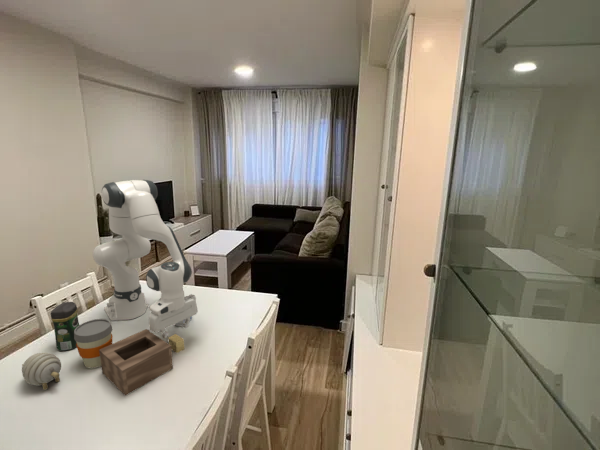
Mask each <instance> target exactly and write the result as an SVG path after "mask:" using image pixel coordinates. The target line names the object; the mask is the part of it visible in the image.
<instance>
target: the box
mask: <svg viewBox="0 0 600 450" xmlns="http://www.w3.org/2000/svg"><path fill="white" fill-rule="evenodd" d="M172 351H173V350H171V345H169V343H168V342H166V341H165V340H164V339H162V338H160V337H159V336H157V335H156V334H155V333H154V332H153V331H151V330H150V329H147V328H146V329H143V330H141V331H138V332H136V333H134V334H132V335H130V336H128V337H125V338H122V339H120V340H118V341H116V342H114V343H113V342H112V344H111V345H109V346H107V347H104V348H102V349H100V350H99V353H100V360H101V366H100V368H101V371H102V374H103V375H104V376H105V377H106V379H108V380H109V381H110V382H111V383H112V385H114V386H115V387H116V388H117V389H118V390H119V391H120V392H121V393H122V394H123V396H128V395H129V394H131V393H132V392H134V391H136V390H139V388H141V387H143V386H145V385H147V384H148V383H150V382H152V381H153V380H155V379H157V378H158V377H161V376H162V375H164V374H165V373H167V372H169V371H170V370H172V369H174V365H173V352H172Z"/></svg>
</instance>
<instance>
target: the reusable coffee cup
mask: <svg viewBox="0 0 600 450" xmlns="http://www.w3.org/2000/svg"><path fill="white" fill-rule="evenodd" d="M112 332H113V326H112V322H111V320H110V319H107V318H97V319H95V318H94V319H92V320H88V321H85V322H82V323H80V324H79V326H78V327H76V329H75V330H74V339H75V341H76V342H77V344H76V349H77V352H78V354H79V357H81V359H82V362H83V365H84V367H85V368H88V369H96V368H101V360H100V353H99V350H100V349H102V348H104V347H107V346H109V345H111V344H113V334H112Z"/></svg>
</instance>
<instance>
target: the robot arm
mask: <svg viewBox="0 0 600 450" xmlns="http://www.w3.org/2000/svg"><path fill="white" fill-rule="evenodd" d="M101 198H102V200H103V203H104V204H105V205H106V206H107V207H108V223H109V224H108V225H109V230H110V231H111V232H112V233H114V234H116V235H120V236H121V239H117V240H112V241H111V240H110V241H107V242H104V243H101V244H99V245H96V246H95V247H94V249H93V251H92V258H93V260H94V262H95V263H96V264H97V265H98V266H100V267H104V268H105V269H106V270H108V271H109V273H110V275H111V276H112V279H113V284H114V287H113V295H112V296H110V297H109V299H108V302H107V303H106V306H105V307H104V311H105V313H106V315H107V317H108V318H109V321H127V320H133V319H136V318H139V317H141V316H143V315H144V314H145V313H146V311H147V309H148V308H149V311H150V313H149V316H148V327H149V331H150V332H152V333H154V334H155V333H159V332H161V334H162V338H163V339H166V338H168V337H169V332H167V331H166V329H168V328H170V327H171V326H175V324H176V323H178V322H180V321H182V320H185V319H186V320H185V323H183V326H182V328H185V329H186V328H188V327H189V322H190V321H191V320H190V317H191V316H192V317H194V316H196V315H197V313H198V304H197V297H196V295H195V294H192V293H191V294H189V295H185V290H184V284H186V283H188V281H189V280H190V278H191V276H192V275H193V271H192V267H191V265H190V263H189V262H188V260H187V259H186V257H185V254H184V253H183V250H182V248H181V246H180V243H179V241H178V239H177V237H176V235H175V232H174V231H173V229H172V227H170V226H169V225H167V224H165V222H164V221H163V219H162V218H161V215H160V211H159V207H158V204H157V203H156V200H157V198H158V187H157V185H156V184H155V183H154V181H153V180H150V179H142V180H140V179H131V180H130V179H128V180H122V181H116V182H114V181H112V182H108V183H105V184H104V185H103V186H102V188H101ZM150 240H153V241H154V240H155V241H158V242H162V243H163V244H165V246H166V248H167V250H168V252H169V255H170V257H171V259H172V261H167V262H163V263H162V264H160V265H158V266H155V267H151V268H149V270H147V273H146V275H145V282H146V285H147V287H148V289H151V290H153V291H155V292H160V298H159V299H158V300H157V301H155V302H154V303H153V304H151V305H149V304H148V303H147V302H146V298H145V297H146V296H145V293H144V292H142V286H141V284H140V274H139V271H138V270H137V268H136V267H133V266H128V265H126V262H129V261H132V260H137V259H140V258H143V257H145V256H148V255H149V253H150V252H151V248H152V245H151V241H150Z"/></svg>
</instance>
